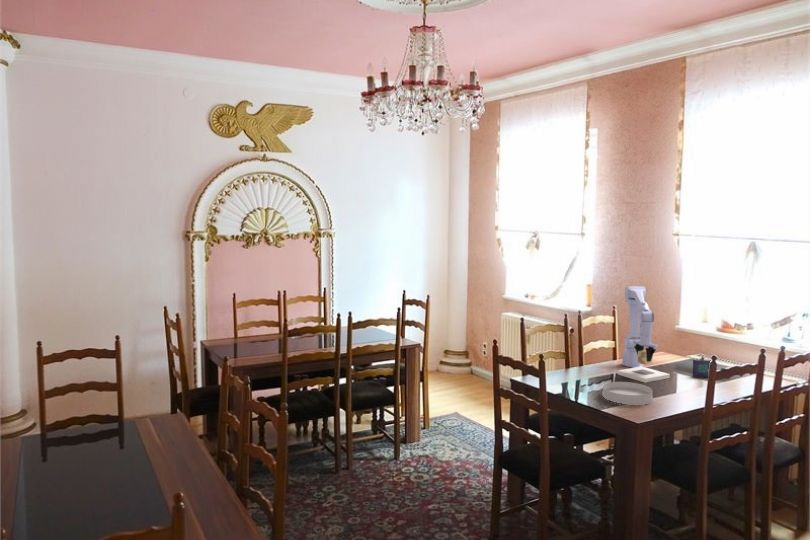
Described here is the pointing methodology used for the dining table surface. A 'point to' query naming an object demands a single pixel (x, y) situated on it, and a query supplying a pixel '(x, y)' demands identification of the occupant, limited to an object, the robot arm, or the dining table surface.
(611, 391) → the dish
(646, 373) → the plinth
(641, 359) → the block
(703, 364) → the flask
